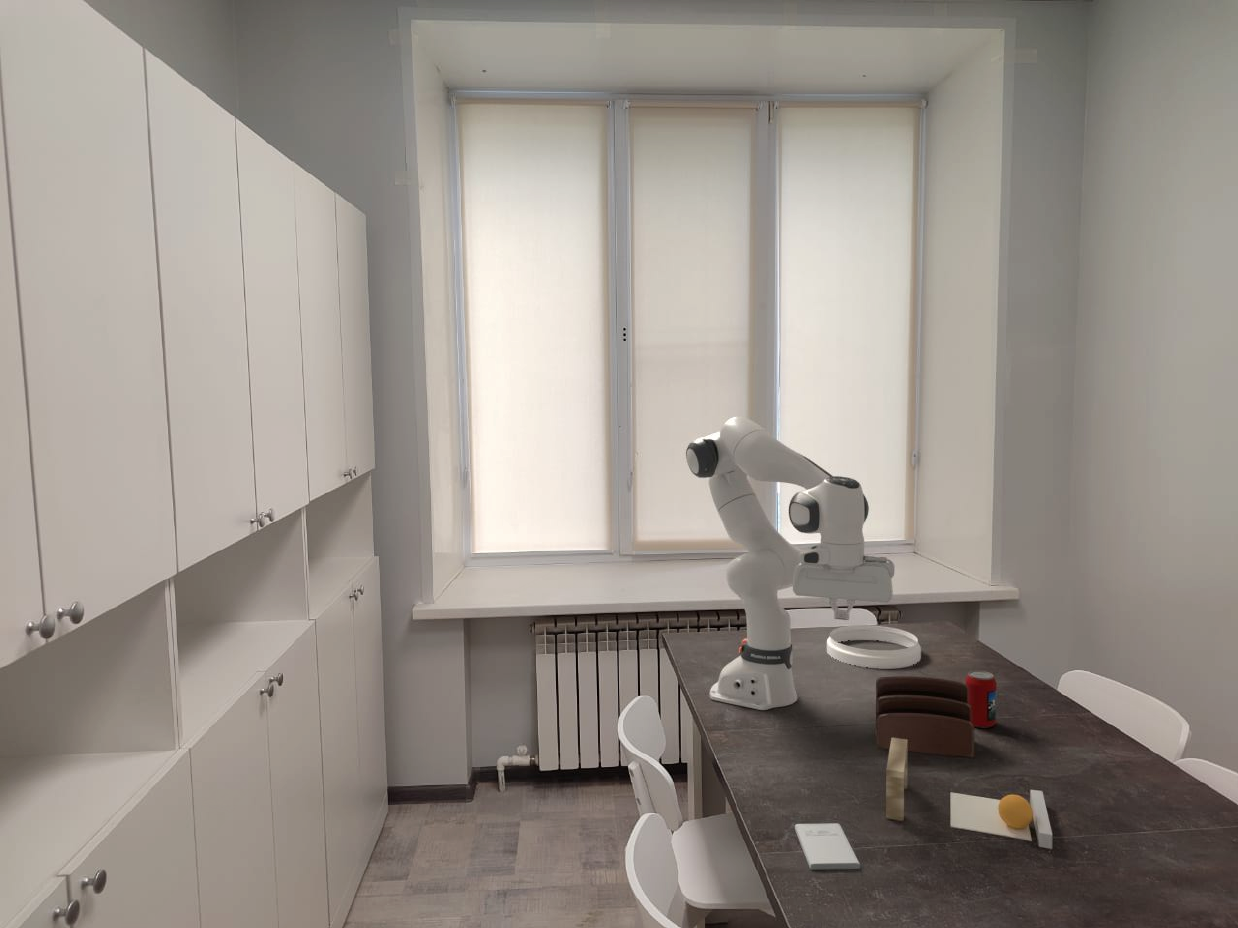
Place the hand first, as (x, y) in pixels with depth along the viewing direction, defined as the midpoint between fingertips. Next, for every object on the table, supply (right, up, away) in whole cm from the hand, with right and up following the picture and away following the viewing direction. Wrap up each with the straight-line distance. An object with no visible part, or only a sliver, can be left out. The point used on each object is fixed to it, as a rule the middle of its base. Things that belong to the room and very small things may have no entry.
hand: (841, 618), depth 167 cm
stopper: (+29, -32, -24) cm, 50 cm away
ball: (+24, -30, -25) cm, 46 cm away
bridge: (+6, -32, -15) cm, 36 cm away
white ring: (+30, -25, +72) cm, 81 cm away
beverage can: (+38, -29, +19) cm, 52 cm away
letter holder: (+21, -30, +10) cm, 38 cm away
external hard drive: (-11, -35, -30) cm, 47 cm away
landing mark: (+21, -32, -21) cm, 44 cm away
